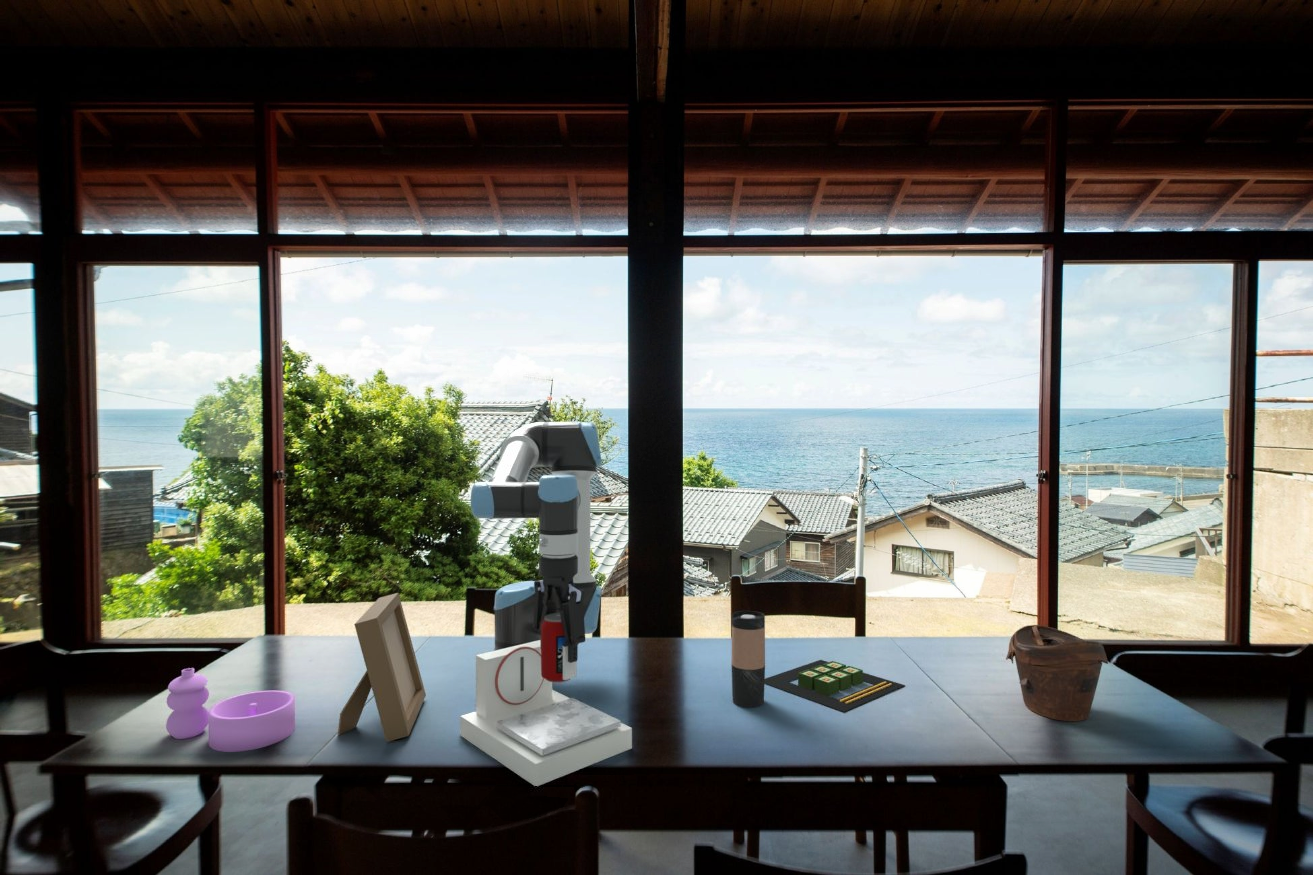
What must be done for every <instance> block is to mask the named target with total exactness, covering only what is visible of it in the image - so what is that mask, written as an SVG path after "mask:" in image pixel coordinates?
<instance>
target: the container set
mask: <svg viewBox="0 0 1313 875" xmlns="http://www.w3.org/2000/svg"><path fill="white" fill-rule="evenodd" d="M208 681H209V680H208V679H207V677H206V676H205V675H202V674H198V673H195V668H194V667H191V668H190V667H188V668H184V669H182V670H181V675H180V676H178V677H176V678H174V679H173V680H171V681H170V683H169V684H168V686H167V689H168V691H169V694H168V695H167V697H166V704H167V707H169V709H171V710H172V712H171V713H170V714H169V716H168V718H167V719H166V724H165V728H166V731H167V732H168V734H169V735H170V736H172V737H173V738H175V739H179V740H182V739H189V738H194V737H196V736H198V735H201V734H202V733H203V732H204V730H205V729H206V728H207V726H208V747H209V748H210V749H212V750H214V751H217V752H222V753H223V752H225V753H226V752H227V753H237V752H246V751H253V750H257V749H261V748H265V747H268V746H271V745H274V744H276V743H278V742H281V741H283V740H285V739H287V738H288V737H289V736H291V735H292V734H293V733H294V731H295V729H296V697H295V695H294V694H293V693H291V692H288V691H285V690H258V691H252V692H248V693H247V692H246V693H242V694H238V695H235V696H231V697H228V698H225V699H223V700H221V701H219V702H217V703H215V704H213V705H212V706H211V707H210V708H209V709H208V708H206V707H205V706H204V704H206V702H207V701H208V700H209V696H210V691H209V689H208V687H206V686H207V685H208Z"/></svg>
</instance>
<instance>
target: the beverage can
mask: <svg viewBox="0 0 1313 875" xmlns="http://www.w3.org/2000/svg"><path fill="white" fill-rule="evenodd" d="M570 639H571V638H570ZM564 643H566V642H565V637H564V632H563V627H562V622H561V617H560V613H553V614H548V615H546V616H545V619H544V621H543V623H542V625H541V676H542V677H543V678H544V679H546V680H547V681H549V682H552V683H565V682H568V681H570V680H571V679H568V680H563V644H564Z"/></svg>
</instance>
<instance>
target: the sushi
mask: <svg viewBox="0 0 1313 875" xmlns="http://www.w3.org/2000/svg"><path fill="white" fill-rule="evenodd" d="M794 681H797V684H795V683H793V682H794ZM863 683H866V684H869V685H870V686H867V687H865V688H863V689H861V690H858V691H855V692H853V693H850V694H848V695H845V696H843V697H841V698H835V697H832V696H833V695H835V694H837V693H839V692H842V691H844V690H845V691H846V690H847V689H851V688H852V687H855V686H857V685H860V684H863ZM765 685H766V686H769V687H772V688H774V689H778V690H780V691H781V692H784V693H785V692H786V693H787V694H790V695H794V696H797V697H799V698H802V699H804V700H807V701H810V702H812V703H815V704H818V705H821V706H824V707H826V708H829V709H832V710H835V711H837V712H841V713H843V714H845V713H847V712H849V711H851V710H854V709H856V708H858V707H861V706H863V705H865V704H868V703H870V702H872V701H875V700H878V699H879V698H881V697H884V696H886V695H888V694H891V693H893V692H895V691H897V690H901V689H903V688H905V687H906V685H905V684H902V683H899V682H896V681H892V680H890V679H886V678H882V677H879V676H876V675H873V674H869V673H866V672H864V670H863V669H862V668H858V667H855V666H851V665H848V666H847V665H846V664H844V663H840V662H836V661H834V660H832V661H826V660H824V659H818V660H816V661H813V662H810V663H807V664H803V665H801V666H798V667H795V668H793V669H789V670H787V671H783V672H780V673H778V674H774V675H771V676H769V677H765Z"/></svg>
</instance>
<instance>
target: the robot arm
mask: <svg viewBox="0 0 1313 875" xmlns="http://www.w3.org/2000/svg"><path fill="white" fill-rule="evenodd" d="M597 427H598V426H597V425H596V424H595V423H593V422H589V421H588V422H587V421H579V420H578V421H535V422H531V423H527V424H525V425H523V426H521V427H519V428H517V429H516V430H514V431H512V432H511V433H510V434H508V436H507V437H506V438H505V439H504V440H503V442H502V444H501V447H500V451H499V452H500V453H499V455H500V456H499V457H500V458H499V460H498V462H497V465H496V466H495V468H494V470H493V473H492V475H491V477H490V479H489V481H487V480H485V481H482V482H481V481H479V482H475V483H473V485H472V488H471V491H470V510H471V513H472V515H473V518H476V519H489V520H495V519H498V520H499V519H503V520H504V519H538V526H539V527H538V528H539V529H538V533H539V534H538V552H539V554H540V556H539V557H538V574H539V576H541V577H542V578H543V579H541V580H526V581H519V582H514V583H510V584H506V585H504V586H501V587H500V588H499V589H497V590H496V592H495V594H494V606H493V611H494V647H493V651H496V650H500V649H504V648H508V647H513V646H517V645H521V644H525V643H530V642H534V641H538V640H540V648H541V625H542V623H543V621H544V619H545V616H546V615H548V614H553V613H560V617H561V622H562V627H563V632H564V637H565V642H566V643H564V644H563V680H568V679H570V680H571V679H575V678H577V677H578V673H577V672H578V670H577V669H578V659H579V658H578V651H579V650H578V648H579V647H578V646H579V644H582V643H585V642H586V635H590V634H593V633H594V632H595V631H597V630H596V629H597V628H598V621H599V613H600V605H601V597H602V587H601V586H599V585H597V579H596V578H595V577H594V576H593V575H592V573H591V481H592V479H593V478H594V476H595V475H597V468H600V467H602V464H603V462H602V455H601V454H602V453H601V448H600V441H599V440H600V439H599V433H598V428H597ZM534 467H551V470H550V471H551V474H548V475H547V474H544V475H542V476H541V477H540V478H539V480H538V481H527V479H528V477H529V474H530V471H531V469H532V468H534ZM570 638H571V639H570ZM568 681H569V680H568Z"/></svg>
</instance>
